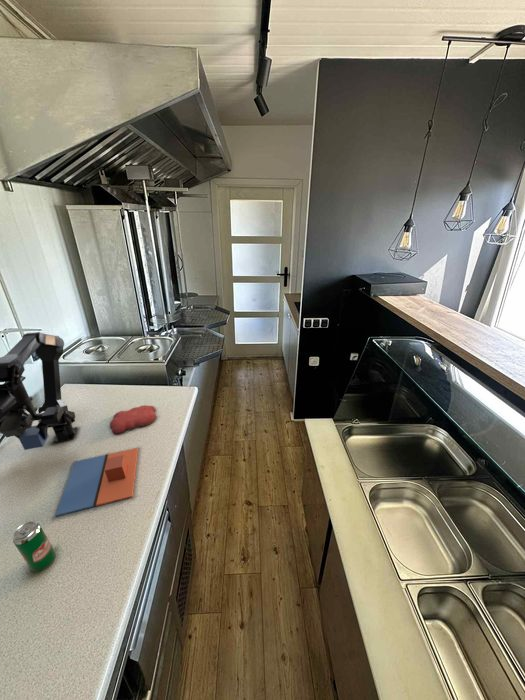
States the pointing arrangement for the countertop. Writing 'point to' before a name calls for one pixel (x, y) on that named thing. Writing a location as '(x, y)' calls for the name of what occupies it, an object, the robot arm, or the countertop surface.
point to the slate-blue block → (32, 438)
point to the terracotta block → (116, 468)
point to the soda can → (34, 545)
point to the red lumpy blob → (132, 419)
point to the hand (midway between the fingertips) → (35, 440)
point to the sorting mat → (96, 483)
